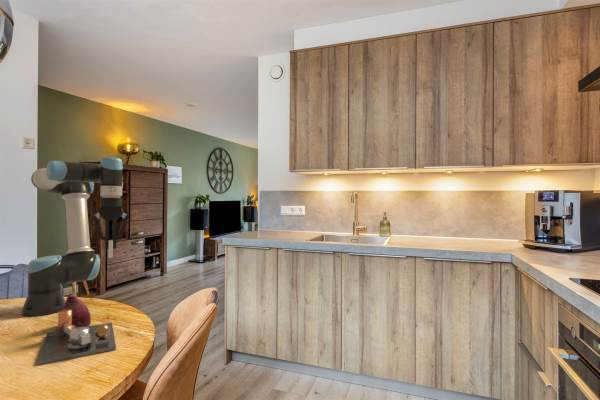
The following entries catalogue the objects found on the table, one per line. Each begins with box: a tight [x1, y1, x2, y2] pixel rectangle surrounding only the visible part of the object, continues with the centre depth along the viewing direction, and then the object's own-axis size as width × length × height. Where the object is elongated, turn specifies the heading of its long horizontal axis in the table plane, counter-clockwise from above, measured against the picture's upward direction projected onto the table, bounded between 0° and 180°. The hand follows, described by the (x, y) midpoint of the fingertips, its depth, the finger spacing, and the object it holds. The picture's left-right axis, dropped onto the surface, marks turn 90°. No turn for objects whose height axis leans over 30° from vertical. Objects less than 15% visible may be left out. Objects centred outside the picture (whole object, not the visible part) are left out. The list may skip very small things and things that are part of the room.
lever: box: [57, 309, 90, 345], centre depth 113 cm, size 22×5×7 cm, turn 51°
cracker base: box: [37, 322, 117, 366], centre depth 115 cm, size 25×20×7 cm
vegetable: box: [62, 292, 92, 328], centre depth 129 cm, size 10×10×15 cm
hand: (110, 257), depth 133 cm, fingers closed
